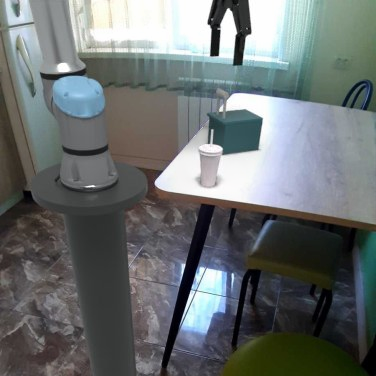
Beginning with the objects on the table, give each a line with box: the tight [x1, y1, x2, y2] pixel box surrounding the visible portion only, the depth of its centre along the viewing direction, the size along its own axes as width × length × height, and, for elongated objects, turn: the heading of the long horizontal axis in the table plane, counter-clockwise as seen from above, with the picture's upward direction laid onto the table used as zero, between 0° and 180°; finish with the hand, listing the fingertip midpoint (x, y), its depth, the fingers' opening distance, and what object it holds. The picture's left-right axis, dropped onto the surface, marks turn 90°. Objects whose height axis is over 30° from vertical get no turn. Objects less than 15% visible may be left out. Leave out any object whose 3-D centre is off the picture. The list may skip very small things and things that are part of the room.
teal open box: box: [207, 116, 264, 156], centre depth 134 cm, size 14×11×9 cm
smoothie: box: [197, 129, 223, 188], centre depth 109 cm, size 6×6×14 cm
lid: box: [206, 88, 264, 125], centre depth 128 cm, size 14×11×8 cm
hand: (225, 60), depth 118 cm, fingers open, 13 cm apart
